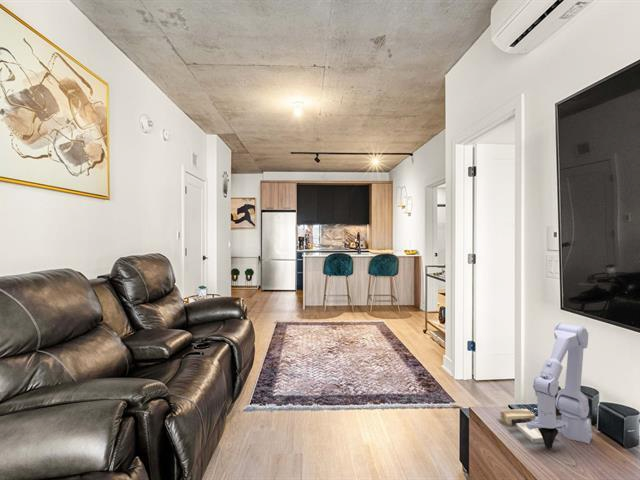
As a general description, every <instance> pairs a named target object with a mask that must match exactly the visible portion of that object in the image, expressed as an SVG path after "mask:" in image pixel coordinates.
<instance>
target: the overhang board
mask: <svg viewBox="0 0 640 480" xmlns="http://www.w3.org/2000/svg"><path fill="white" fill-rule="evenodd" d="M534 420H536V414H534V413H533V411H532V412H531V411H530V410H529V409H528V408H515V409H500V418H496V421H497V422H499V424H500V425H501V426H502V427H503V428H504V429H506V431H508V432H509V433H510V435H512V436H513V437H514V438H515V439H516V440H518V442H519V443H520V444H521V445H523V447H525V449H536V448H547V447H546V446H545V444H544V443H541V444H533V443H532V442H531V441H530V440H529V439H528V438H527V437H525V436H524V435H523V434H522V433H521V432H520V431H519V430H518V429H517V428H516V423H527V422H531V421H534ZM557 447H566V445H565V444H564V443H563V442H561V441H560V440H559V439H558V438H556V437H555V439H554V442H553V445H552V448H557Z"/></svg>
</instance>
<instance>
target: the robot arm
mask: <svg viewBox="0 0 640 480" xmlns="http://www.w3.org/2000/svg"><path fill="white" fill-rule="evenodd" d="M553 336H554V339H555V342H554V346H553V349H552V352H551V356H550V358H548V359H546V360H545V362H544V364H543V367H542V368H541V371H540V373H539V375H538V376H536V377H535V378H534V379H533V384H532V387H533V390H534V394H535V397H536V401H537V404H536V405H537V419H535V420H534V421H531V422H527V428H528V429H530V430H532V429H535V428H538V430H539V431H540V433H541V435H542V438H543V440H544V444H545V446H546V447H545V448H547V449H550V450H551V449H553V447H552V445H553V442H554V439H555V438H556V437H557V435H559V430H558V429H557V428H561V429H562V436H564V437H565V438H567V439H569V440H572V441H577V442H582V443H586V444H590V443H591V441H592V440H593V439H592V438H593V435H592V434H593V433H592V419H590V418H589V417H588V416H589V413H590V406H589V399H588V397H587V396H586V395H585V394H584V393H583V392H582V391H581V385H582V384H581V383H582V373H583V360H584V350H585V349H587V348H588V345H589V332H588V330H587V328H586V327H584V326H580V325H579V326H578V325H571V324H565V323H560V322H558V323H556V325H555V326H554V331H553ZM566 354H567V358H566V359H567V360H566V369H565V370H566V371H565V373H566V374H565V385H564V387H563V388H561V390H559V391H558V386H559V384H560V381H559V379H560V376H561V373H562V371H563V369H564V367H563V365H562V362H563V360H564V358H565V357H566ZM557 392H558V395H557V398H556V402H555V395H556V394H557ZM555 403H556V407H557V409H558V410H559V411H560V413H562V420H556V408H555Z"/></svg>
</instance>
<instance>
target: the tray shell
mask: <svg viewBox="0 0 640 480" xmlns="http://www.w3.org/2000/svg"><path fill="white" fill-rule="evenodd" d="M516 428H517V429H518V430H519V431H520V432H521V433H522V434H523V435H524V436H525V437H527V438H528V439H529V440H530V441H531V442H532V443H533V444H541V443H544V440H543V438H542V435H541V433H540V431H539V430H538V428H535V429H532V430H530V429H528V428H527V423H516Z"/></svg>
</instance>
